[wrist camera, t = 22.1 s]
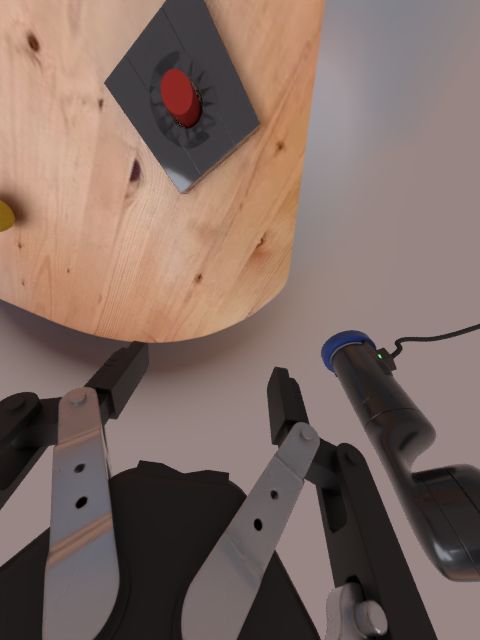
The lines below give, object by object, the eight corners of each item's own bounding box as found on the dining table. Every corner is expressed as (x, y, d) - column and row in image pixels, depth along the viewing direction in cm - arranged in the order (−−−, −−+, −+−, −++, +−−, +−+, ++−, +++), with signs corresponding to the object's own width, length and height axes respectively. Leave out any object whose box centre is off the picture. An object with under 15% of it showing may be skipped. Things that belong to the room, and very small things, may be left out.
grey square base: (194, -10, 23) (189, -32, 20) (259, 129, 28) (260, 124, 26) (115, 91, 27) (103, 82, 25) (185, 194, 33) (180, 194, 31)
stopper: (190, 85, 26) (177, 58, 21) (207, 116, 28) (199, 98, 23) (170, 107, 28) (153, 86, 22) (188, 136, 29) (175, 122, 24)
